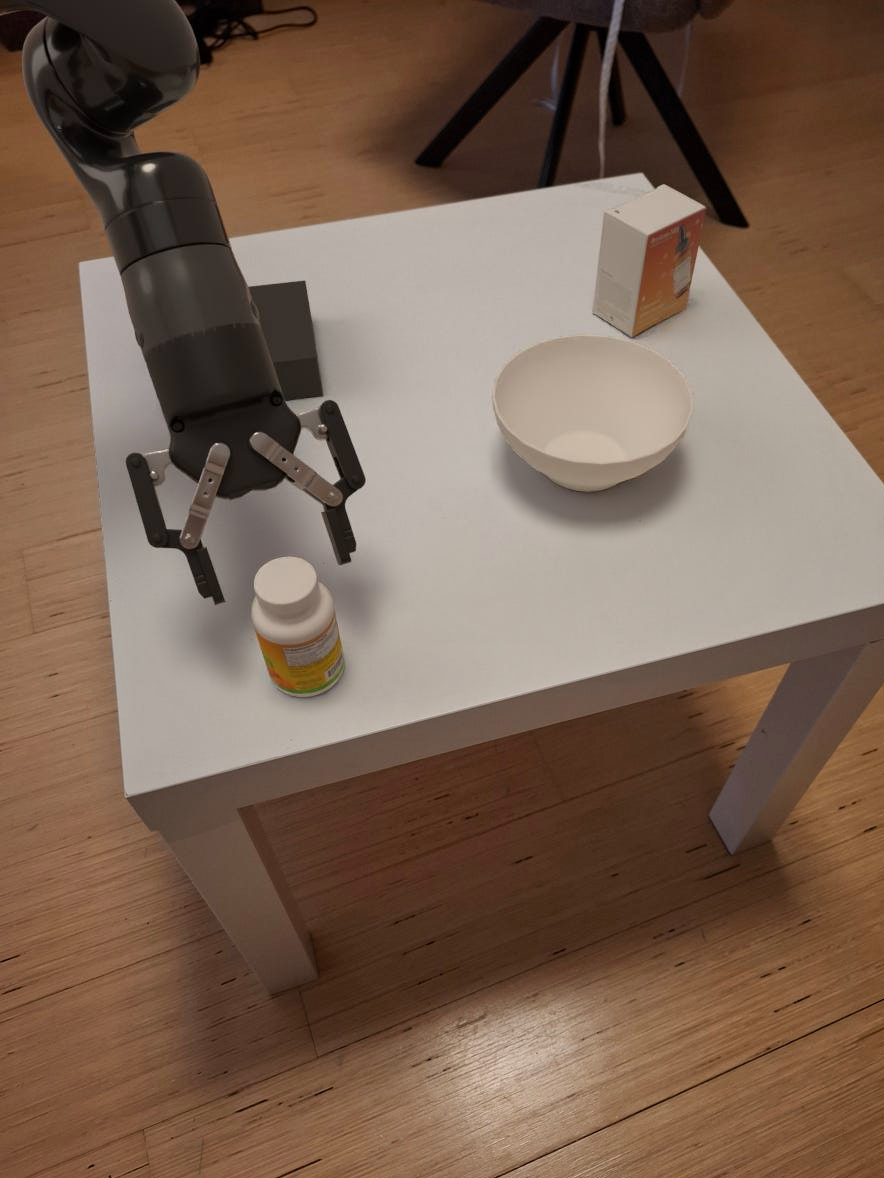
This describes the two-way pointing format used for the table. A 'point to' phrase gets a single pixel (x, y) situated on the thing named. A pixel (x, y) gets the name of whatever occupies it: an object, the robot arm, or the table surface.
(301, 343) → the red push button box
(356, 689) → the table surface
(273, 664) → the supplement bottle
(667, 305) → the small box
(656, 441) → the bowl
